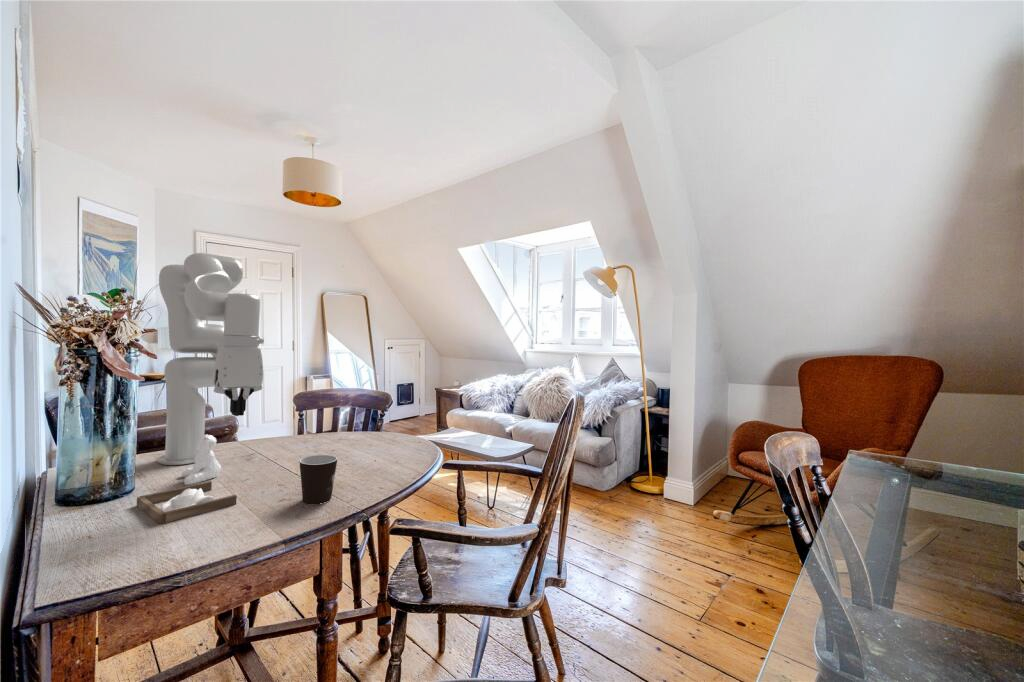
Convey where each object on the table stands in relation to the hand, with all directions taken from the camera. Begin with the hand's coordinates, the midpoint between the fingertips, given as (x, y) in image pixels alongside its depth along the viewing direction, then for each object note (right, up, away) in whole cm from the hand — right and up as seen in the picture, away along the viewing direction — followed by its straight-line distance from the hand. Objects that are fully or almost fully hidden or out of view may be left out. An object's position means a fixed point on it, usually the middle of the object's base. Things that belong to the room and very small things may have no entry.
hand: (237, 414), depth 108 cm
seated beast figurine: (-15, -19, +9) cm, 26 cm away
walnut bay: (-6, -19, -9) cm, 22 cm away
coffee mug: (+22, -21, -1) cm, 30 cm away
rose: (-5, -20, -10) cm, 23 cm away
